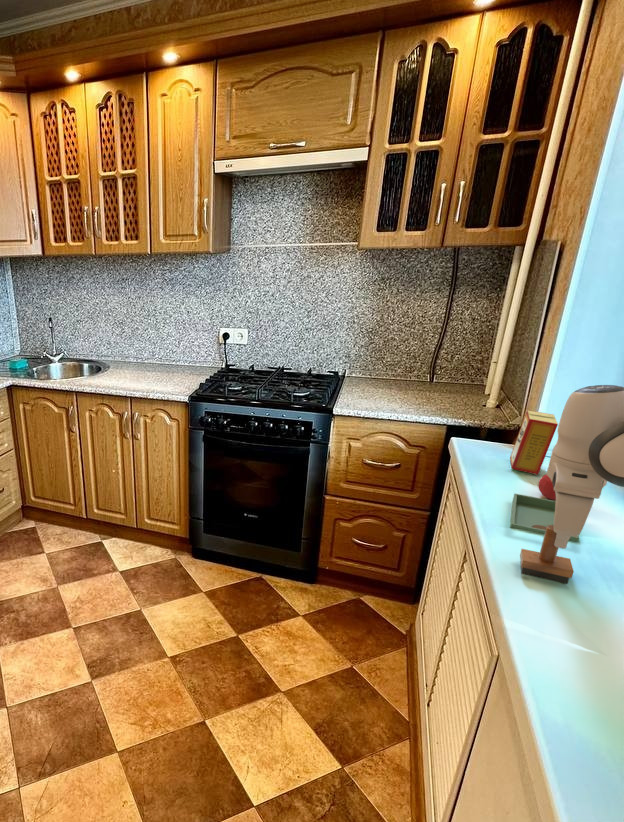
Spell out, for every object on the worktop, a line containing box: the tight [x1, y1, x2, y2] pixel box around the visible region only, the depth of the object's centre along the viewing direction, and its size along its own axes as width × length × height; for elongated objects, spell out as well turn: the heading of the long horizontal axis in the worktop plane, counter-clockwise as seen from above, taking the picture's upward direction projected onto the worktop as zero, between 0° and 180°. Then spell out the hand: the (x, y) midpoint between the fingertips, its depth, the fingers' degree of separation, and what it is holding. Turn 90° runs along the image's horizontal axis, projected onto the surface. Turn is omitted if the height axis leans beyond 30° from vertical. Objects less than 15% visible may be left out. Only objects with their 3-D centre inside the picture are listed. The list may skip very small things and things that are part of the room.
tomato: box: [537, 473, 556, 501], centre depth 135 cm, size 8×8×8 cm
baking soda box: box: [509, 409, 559, 475], centre depth 153 cm, size 10×6×16 cm
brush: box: [519, 525, 574, 585], centre depth 104 cm, size 8×5×11 cm, turn 59°
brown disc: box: [532, 525, 547, 530], centre depth 119 cm, size 4×4×1 cm
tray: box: [509, 493, 580, 543], centre depth 124 cm, size 19×12×3 cm, turn 145°
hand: (560, 535), depth 102 cm, fingers open, 8 cm apart
